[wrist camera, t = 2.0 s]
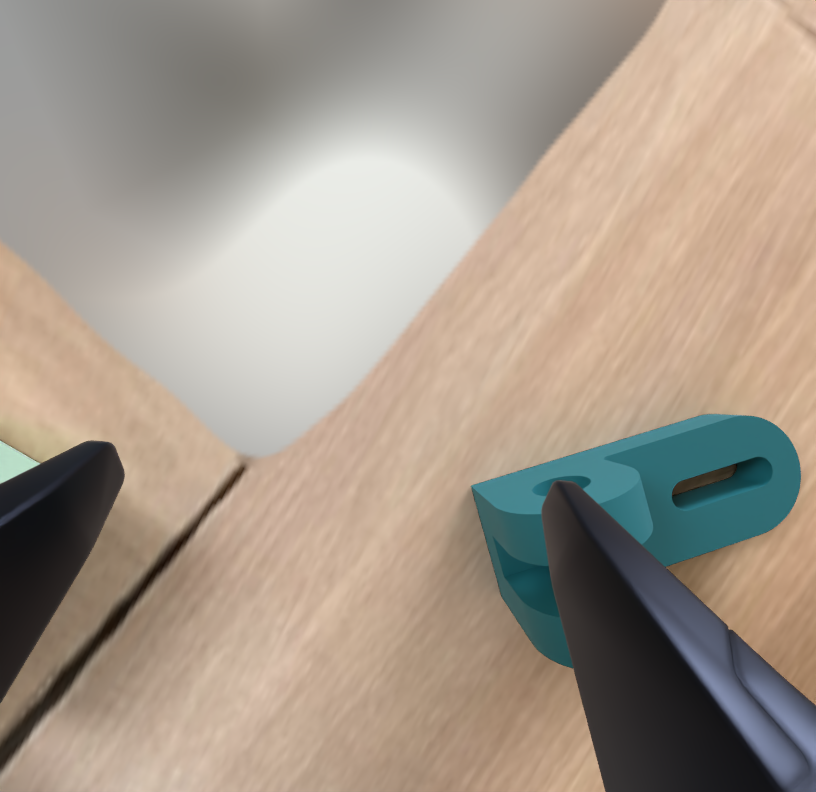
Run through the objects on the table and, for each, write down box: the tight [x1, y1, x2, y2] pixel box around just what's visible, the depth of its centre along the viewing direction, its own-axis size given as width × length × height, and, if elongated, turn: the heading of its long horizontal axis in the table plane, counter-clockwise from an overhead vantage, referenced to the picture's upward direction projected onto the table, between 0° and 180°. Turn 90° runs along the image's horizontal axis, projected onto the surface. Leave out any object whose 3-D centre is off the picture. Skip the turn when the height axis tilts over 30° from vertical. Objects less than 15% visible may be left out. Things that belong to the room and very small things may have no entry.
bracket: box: [471, 414, 801, 668], centre depth 21 cm, size 18×7×8 cm, turn 106°
